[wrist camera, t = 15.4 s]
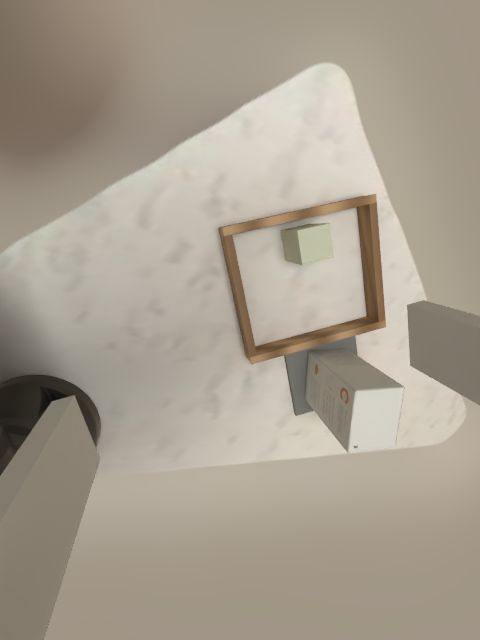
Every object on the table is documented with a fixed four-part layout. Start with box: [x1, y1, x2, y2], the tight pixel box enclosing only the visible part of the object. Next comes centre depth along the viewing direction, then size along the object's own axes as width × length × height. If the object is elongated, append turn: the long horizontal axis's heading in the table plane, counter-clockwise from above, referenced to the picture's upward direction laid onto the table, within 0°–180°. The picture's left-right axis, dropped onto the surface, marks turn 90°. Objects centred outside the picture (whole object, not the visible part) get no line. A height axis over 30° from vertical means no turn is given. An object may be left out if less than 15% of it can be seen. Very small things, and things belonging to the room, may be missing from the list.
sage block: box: [281, 223, 334, 265], centre depth 41 cm, size 4×4×6 cm
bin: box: [219, 194, 386, 364], centre depth 44 cm, size 20×18×3 cm
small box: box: [305, 349, 405, 453], centre depth 44 cm, size 8×6×13 cm
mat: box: [284, 336, 357, 416], centre depth 50 cm, size 11×11×1 cm
